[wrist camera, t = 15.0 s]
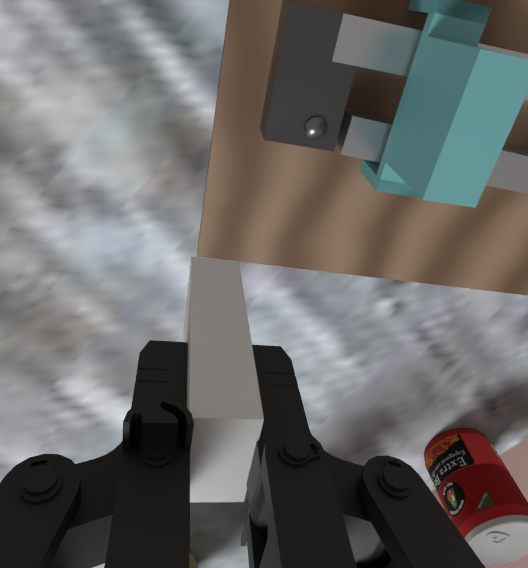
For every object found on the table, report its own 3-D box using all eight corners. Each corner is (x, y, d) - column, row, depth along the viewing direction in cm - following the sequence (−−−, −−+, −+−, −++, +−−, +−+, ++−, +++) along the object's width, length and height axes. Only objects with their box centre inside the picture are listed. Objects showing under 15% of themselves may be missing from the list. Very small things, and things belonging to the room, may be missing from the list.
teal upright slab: (359, 170, 33) (409, 233, 25) (412, -6, 28) (500, -3, 19) (398, 176, 34) (460, 240, 25) (458, 5, 28) (563, 13, 20)
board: (197, 249, 37) (197, 256, 36) (245, -127, 25) (247, -131, 24) (530, 289, 42) (538, 296, 41) (699, -5, 30) (716, -5, 29)
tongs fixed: (259, 127, 31) (264, 140, 28) (282, -1, 27) (290, 1, 25) (581, 182, 36) (611, 198, 33) (639, 79, 32) (678, 87, 29)
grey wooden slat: (330, 141, 32) (340, 154, 30) (341, 105, 31) (352, 115, 28) (574, 194, 36) (602, 209, 33) (593, 164, 35) (622, 178, 32)
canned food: (445, 420, 51) (496, 516, 42) (502, 433, 53) (563, 527, 44) (408, 463, 55) (448, 561, 45) (463, 474, 57) (512, 569, 48)
